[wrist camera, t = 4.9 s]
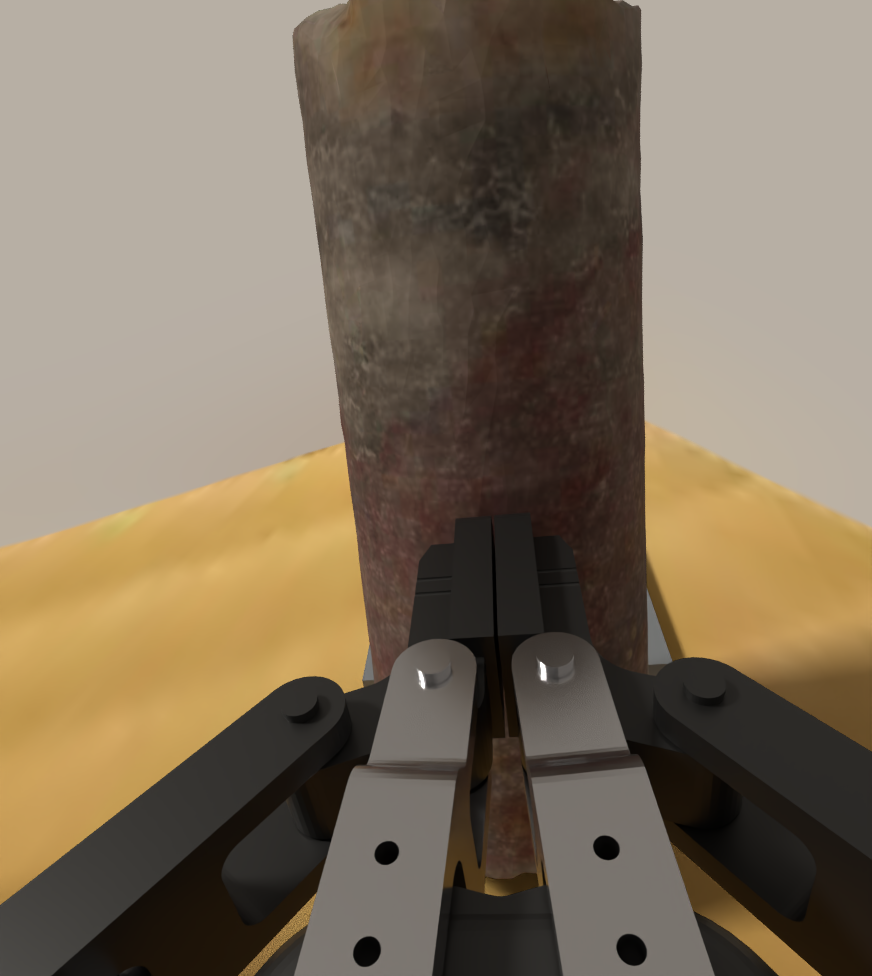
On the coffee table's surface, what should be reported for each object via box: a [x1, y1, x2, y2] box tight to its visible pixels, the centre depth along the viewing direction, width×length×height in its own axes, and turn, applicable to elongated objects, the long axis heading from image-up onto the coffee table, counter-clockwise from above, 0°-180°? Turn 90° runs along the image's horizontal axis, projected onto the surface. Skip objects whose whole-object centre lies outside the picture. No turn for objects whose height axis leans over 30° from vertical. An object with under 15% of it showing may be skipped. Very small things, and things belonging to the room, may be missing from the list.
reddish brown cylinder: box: [293, 0, 649, 879], centre depth 17 cm, size 8×7×20 cm
